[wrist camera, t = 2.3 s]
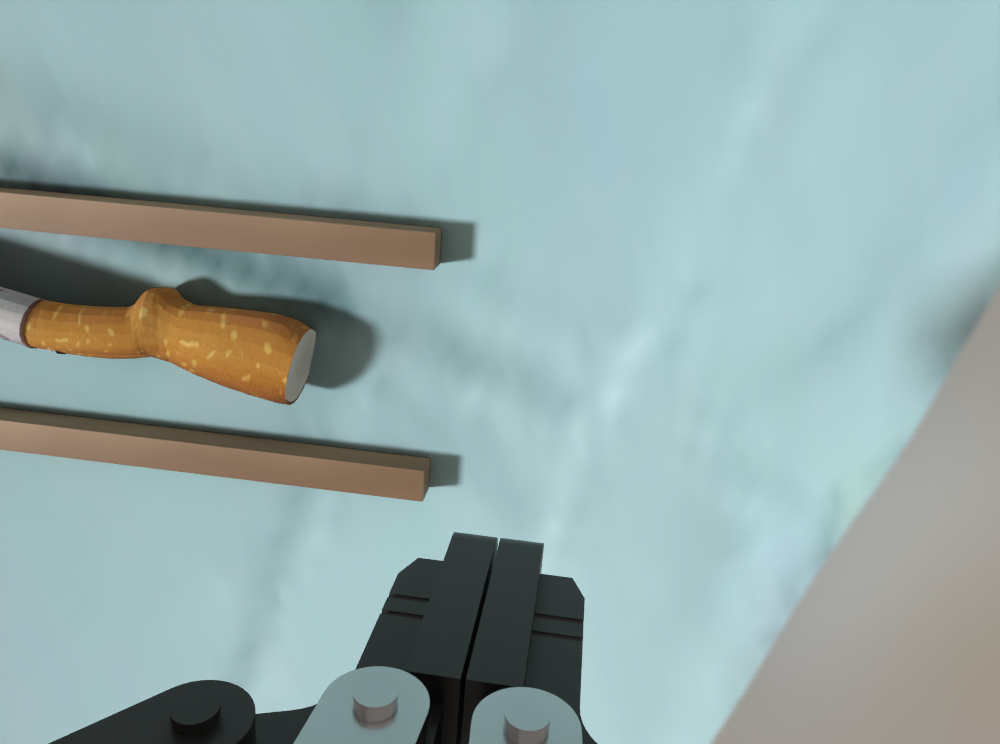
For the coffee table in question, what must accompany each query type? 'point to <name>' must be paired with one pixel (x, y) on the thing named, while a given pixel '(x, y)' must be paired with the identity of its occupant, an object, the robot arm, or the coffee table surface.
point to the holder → (206, 448)
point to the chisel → (172, 338)
